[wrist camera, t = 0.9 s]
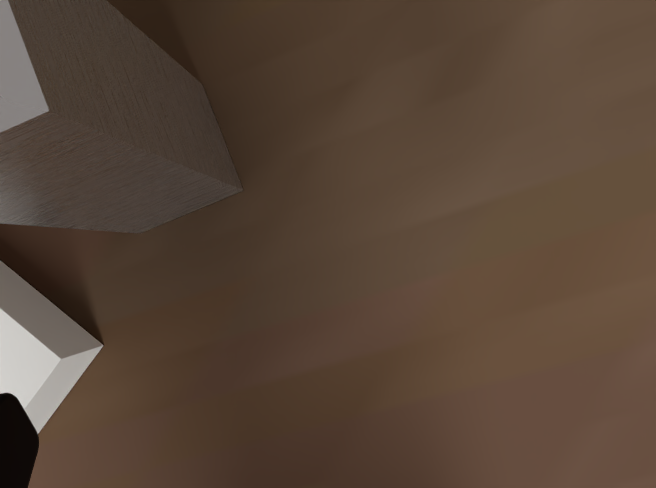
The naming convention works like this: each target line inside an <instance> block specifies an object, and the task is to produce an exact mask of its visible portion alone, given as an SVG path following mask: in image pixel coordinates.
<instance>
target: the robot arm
mask: <svg viewBox="0 0 656 488" xmlns="http://www.w3.org/2000/svg"><path fill="white" fill-rule="evenodd" d="M38 448H39V437H38V433H37V431H36V429H35V427H34V425H33V424H32V422H31V420H30V419H29V417H28V415H27V413H26V412H25V410H24V408H23V407H22V405H21V403H20V401H19V400H18V398H17V397H16V396H14V395H13V394H11V393H1V394H0V488H28V485H29V481H30V478H31V474H32V470H33V467H34V463H35V460H36V456H37V453H38Z"/></svg>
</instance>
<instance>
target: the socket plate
mask: <svg viewBox="0 0 656 488" xmlns="http://www.w3.org/2000/svg"><path fill="white" fill-rule="evenodd" d="M103 346H104V345H103V344H101V343H100V342H99V341H98V340H97V339H95V338H94V337H93V336H92V335H90V334H89V333H88V332H87V331H86V330H84V329H83V328H82V327H81V326H80V325H78V324H77V323H76V322H75V321H73V320H72V319H71V318H70V317H69V316H67V315H66V314H65V313H64V312H62V311H61V310H60V309H59V308H58V307H56V306H55V305H54V304H53V303H52V302H50V301H49V300H48V299H47V298H45V297H44V296H43V295H42V294H41V293H39V292H38V291H37V290H36V289H35V288H33V287H32V286H31V285H30V284H28V283H27V282H26V281H25V280H24V279H22V278H21V277H20V276H19V275H18V274H16V273H15V272H14V271H13V270H11V269H10V268H9V267H8V266H7V265H5V264H4V263H3V262H2V261H1V260H0V394H1V393H11V394H13V395H14V396H16V397H17V398H18V400H19V401H20V403H21V405H22V407H23V408H24V410H25V412H26V413H27V415H28V417H29V419H30V420H31V422H32V424H33V425H34V427H35V429H36V431H37V433H39V432H40V431H41V429H42V428H43V427H44V425H45V424H46V422H47V421H48V420H49V418H50V417H51V416H52V414H53V413H54V412H55V410H56V409H57V408H58V406H59V405H60V404H61V402H62V401H63V400H64V398H65V397H66V396H67V394H68V393H69V391H70V390H71V389H72V387H73V386H74V385H75V383H76V382H77V381H78V379H79V378H80V377H81V375H82V374H83V373H84V371H85V370H86V369H87V367H88V366H89V364H90V363H91V362H92V360H93V359H94V358H95V356H96V355H97V354H98V352H99V351H100V350H101V348H102V347H103Z"/></svg>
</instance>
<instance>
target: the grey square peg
mask: <svg viewBox="0 0 656 488" xmlns="http://www.w3.org/2000/svg"><path fill="white" fill-rule="evenodd" d="M241 191H244V190H243V187H242V185H241V182H240V180H239V177H238V174H237V172H236V169H235V167H234V164H233V162H232V159H231V156H230V154H229V151H228V149H227V146H226V144H225V141H224V138H223V136H222V133H221V131H220V128H219V125H218V123H217V120H216V118H215V115H214V113H213V110H212V107H211V105H210V102H209V100H208V97H207V95H206V92H205V89H204V87H203V85H202V84H201V83H200V82H199V81H198V80H197V79H196V78H194V77H193V76H192V75H191V74H190V73H189V72H188V71H187V70H185V69H184V68H183V67H182V66H181V65H180V64H179V63H177V62H176V61H175V60H174V59H173V58H172V57H171V56H169V55H168V54H167V53H166V52H165V51H164V50H163V49H161V48H160V47H159V46H158V45H157V44H156V43H155V42H153V41H152V40H151V39H150V38H149V37H148V36H147V35H145V34H144V33H143V32H142V31H141V30H140V29H139V28H137V27H136V26H135V25H134V24H133V23H132V22H131V21H130V20H128V19H127V18H126V17H125V16H124V15H123V14H122V13H120V12H119V11H118V10H117V9H116V8H115V7H114V6H112V5H111V4H110V3H109V2H108V1H107V0H0V223H2V224H16V225H29V226H43V227H57V228H71V229H85V230H99V231H113V232H127V233H143V232H145V231H147V230H150V229H152V228H155V227H157V226H159V225H162V224H164V223H167V222H169V221H172V220H174V219H176V218H179V217H181V216H184V215H186V214H188V213H191V212H193V211H196V210H198V209H200V208H203V207H205V206H208V205H210V204H212V203H215V202H217V201H220V200H222V199H225V198H227V197H229V196H232V195H234V194H237V193H239V192H241Z"/></svg>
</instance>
